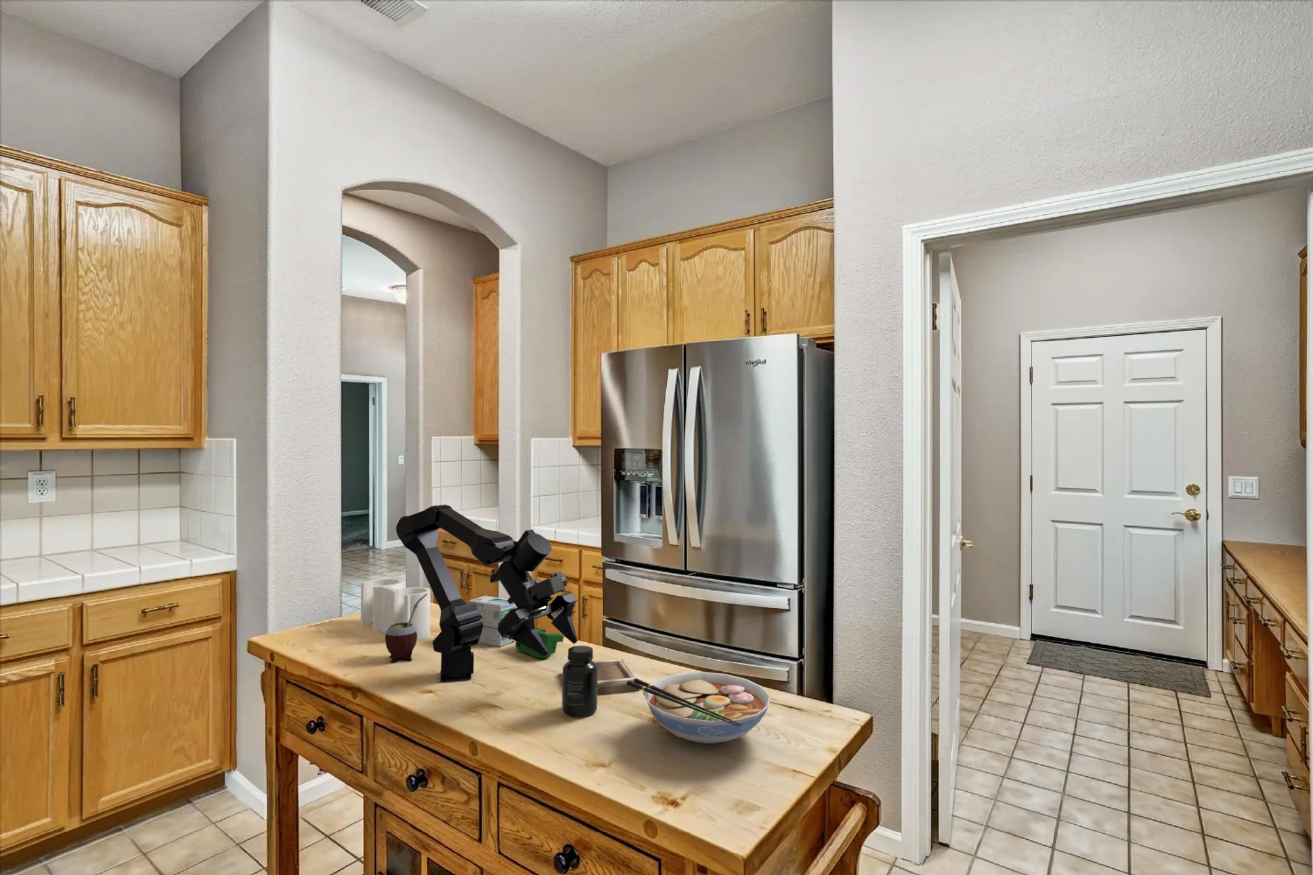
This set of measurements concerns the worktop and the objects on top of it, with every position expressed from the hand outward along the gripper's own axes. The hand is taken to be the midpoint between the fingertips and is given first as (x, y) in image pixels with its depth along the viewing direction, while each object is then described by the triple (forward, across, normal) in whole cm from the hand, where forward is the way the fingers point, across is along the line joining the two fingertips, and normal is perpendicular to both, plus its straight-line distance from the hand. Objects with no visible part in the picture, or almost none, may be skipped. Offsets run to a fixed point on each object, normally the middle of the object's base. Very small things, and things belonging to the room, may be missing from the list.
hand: (561, 648), depth 129 cm
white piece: (-41, +16, +57) cm, 72 cm away
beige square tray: (+7, +15, +9) cm, 18 cm away
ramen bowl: (+29, +4, -13) cm, 32 cm away
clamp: (-9, +23, +26) cm, 35 cm away
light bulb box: (-21, +23, +37) cm, 48 cm away
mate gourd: (-26, +1, +42) cm, 50 cm away
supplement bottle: (+11, 0, +5) cm, 12 cm away
